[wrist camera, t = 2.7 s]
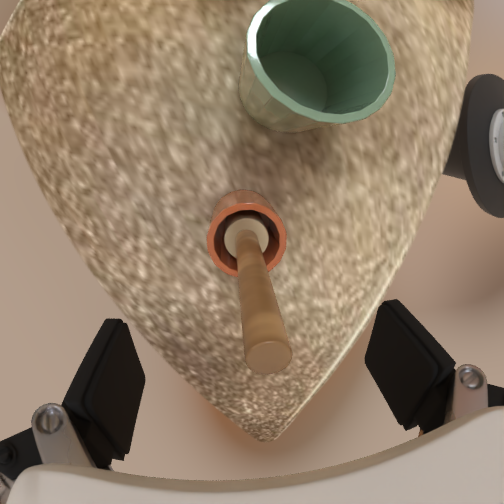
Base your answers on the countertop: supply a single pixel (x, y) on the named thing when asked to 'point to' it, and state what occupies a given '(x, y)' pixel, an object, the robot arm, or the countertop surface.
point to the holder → (269, 217)
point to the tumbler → (314, 65)
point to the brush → (257, 295)
